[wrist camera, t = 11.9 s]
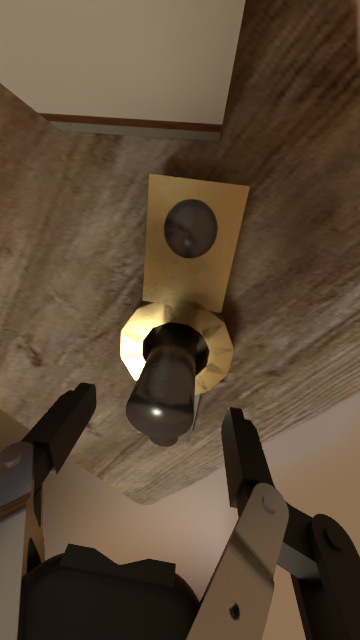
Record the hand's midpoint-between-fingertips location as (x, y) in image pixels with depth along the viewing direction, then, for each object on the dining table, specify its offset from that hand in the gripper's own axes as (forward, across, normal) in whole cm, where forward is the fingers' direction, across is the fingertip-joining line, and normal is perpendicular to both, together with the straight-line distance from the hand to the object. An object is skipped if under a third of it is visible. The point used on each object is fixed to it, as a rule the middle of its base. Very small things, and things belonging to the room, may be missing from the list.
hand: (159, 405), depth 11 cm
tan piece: (+8, 0, 0) cm, 9 cm away
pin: (+8, 0, 0) cm, 9 cm away
